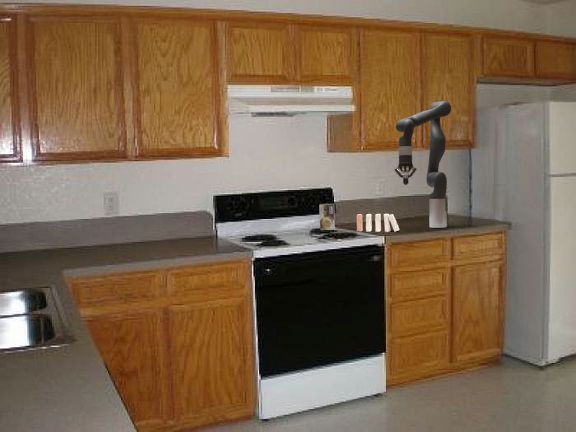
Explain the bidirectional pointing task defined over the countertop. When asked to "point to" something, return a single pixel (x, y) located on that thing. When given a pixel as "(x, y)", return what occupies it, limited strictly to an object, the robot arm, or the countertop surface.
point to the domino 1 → (359, 222)
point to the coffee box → (327, 217)
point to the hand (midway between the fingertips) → (405, 184)
